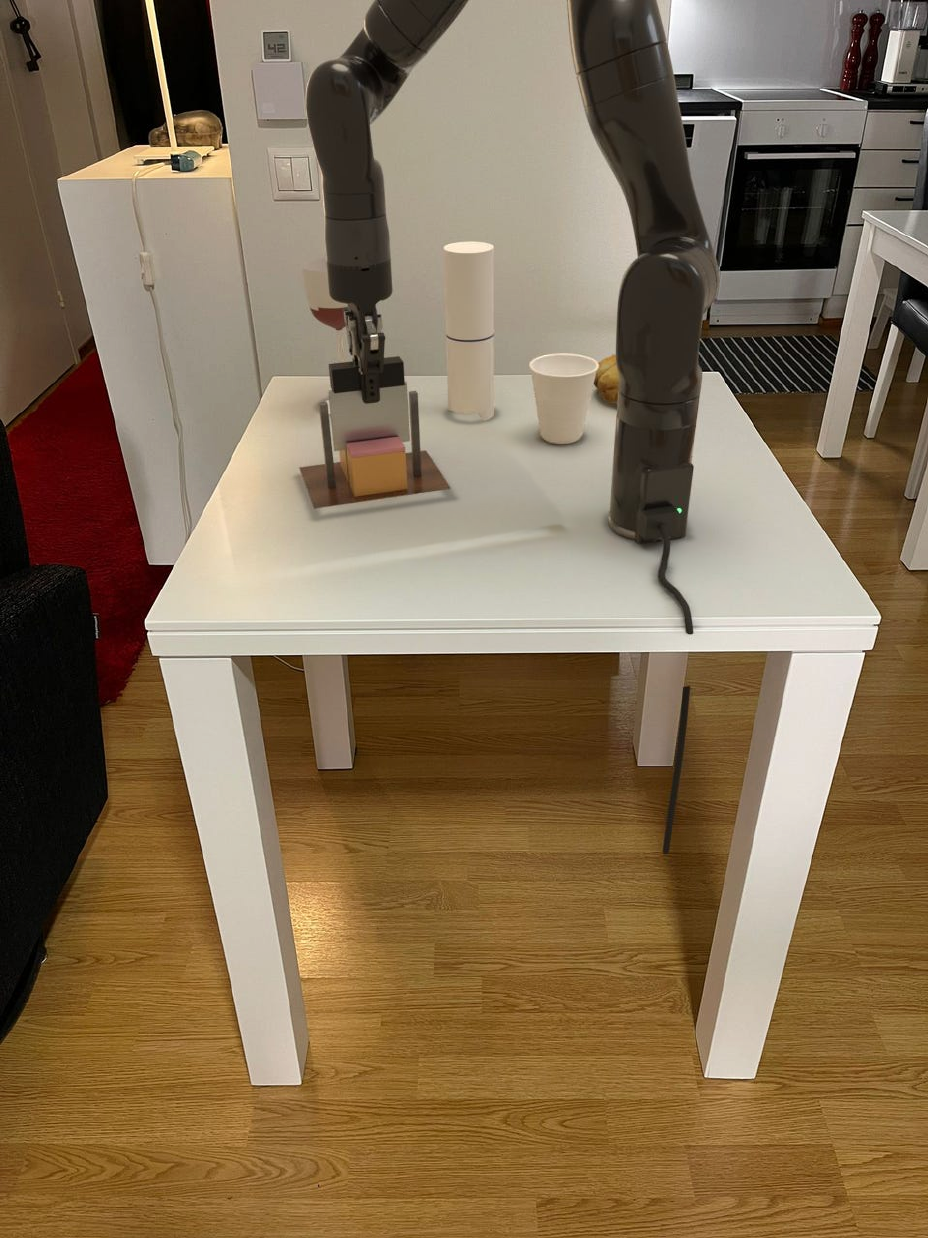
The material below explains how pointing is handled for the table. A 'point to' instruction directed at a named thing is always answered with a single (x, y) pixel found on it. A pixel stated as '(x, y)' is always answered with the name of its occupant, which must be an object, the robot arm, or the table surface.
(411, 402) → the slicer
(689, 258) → the robot arm
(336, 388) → the black handled scraper
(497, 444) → the table surface
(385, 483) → the cake
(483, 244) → the cylindrical container
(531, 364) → the cup
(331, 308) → the wineglass
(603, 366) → the bread roll
